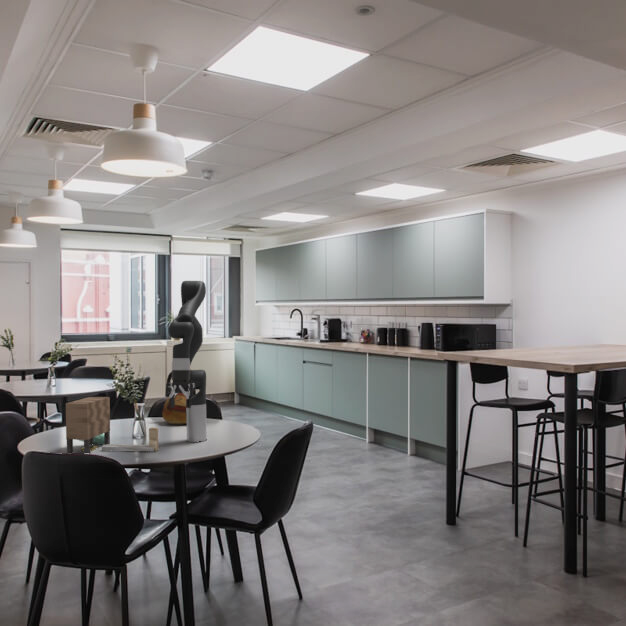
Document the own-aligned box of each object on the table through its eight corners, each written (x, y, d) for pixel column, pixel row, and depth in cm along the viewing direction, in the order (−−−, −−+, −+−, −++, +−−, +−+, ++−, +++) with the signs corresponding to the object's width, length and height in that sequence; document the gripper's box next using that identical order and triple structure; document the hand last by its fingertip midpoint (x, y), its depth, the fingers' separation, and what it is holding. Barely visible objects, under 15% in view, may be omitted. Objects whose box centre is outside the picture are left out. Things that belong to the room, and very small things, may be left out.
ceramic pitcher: (194, 426, 329) (193, 370, 329) (157, 426, 331) (156, 370, 331) (203, 420, 349) (203, 366, 349) (168, 420, 350) (167, 367, 350)
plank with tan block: (107, 448, 279) (106, 426, 279) (159, 449, 275) (159, 427, 275) (101, 451, 274) (101, 428, 274) (154, 452, 270) (154, 429, 270)
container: (107, 431, 288) (85, 423, 306) (96, 438, 284) (74, 430, 303) (112, 442, 289) (90, 434, 308) (101, 449, 286) (79, 440, 304)
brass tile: (86, 449, 280) (86, 445, 280) (97, 449, 279) (97, 446, 279) (81, 451, 275) (80, 448, 275) (91, 451, 275) (91, 448, 275)
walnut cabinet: (90, 444, 288) (89, 396, 288) (110, 444, 287) (109, 397, 286) (66, 454, 268) (65, 403, 268) (88, 454, 267) (87, 403, 267)
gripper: (199, 369, 263) (199, 407, 262) (173, 368, 270) (172, 406, 268) (188, 369, 256) (188, 408, 255) (161, 369, 263) (161, 407, 262)
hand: (180, 407), depth 262 cm, fingers open, 8 cm apart
